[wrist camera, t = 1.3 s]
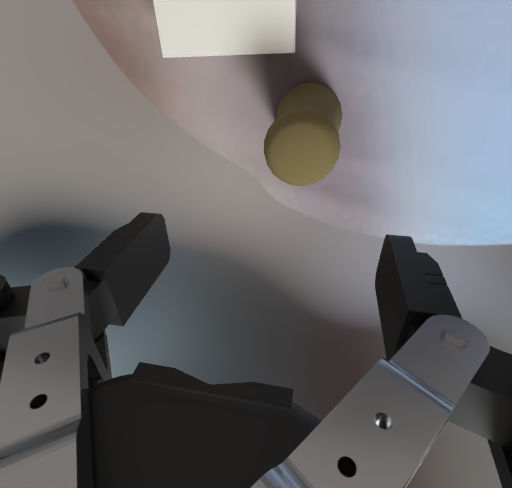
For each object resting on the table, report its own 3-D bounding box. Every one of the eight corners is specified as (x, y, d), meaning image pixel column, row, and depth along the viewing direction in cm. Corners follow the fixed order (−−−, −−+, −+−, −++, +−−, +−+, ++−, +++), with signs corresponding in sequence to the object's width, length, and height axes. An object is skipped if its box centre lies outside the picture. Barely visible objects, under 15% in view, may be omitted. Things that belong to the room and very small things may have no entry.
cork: (330, 156, 31) (330, 208, 22) (269, 142, 32) (246, 187, 23) (351, 90, 28) (362, 119, 19) (284, 74, 28) (263, 95, 19)
